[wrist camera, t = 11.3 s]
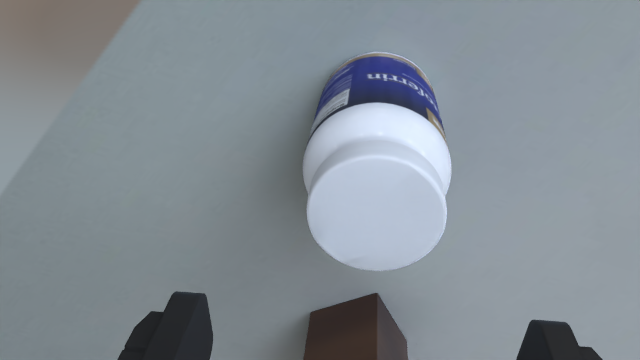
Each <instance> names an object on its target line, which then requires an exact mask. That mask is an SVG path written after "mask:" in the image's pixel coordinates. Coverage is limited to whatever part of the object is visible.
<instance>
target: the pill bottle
mask: <svg viewBox="0 0 640 360" xmlns="http://www.w3.org/2000/svg"><path fill="white" fill-rule="evenodd" d="M303 179H304V183H305V187H306V190H307V192H308V200H307V210H306V212H307V222H308V226H309V229H310V231H311V234H312V236H313V237H314V239H315V241H316V242H317V244H318V245H319V246H320V247H321V248H322V249H323V250H324V251H325V252H326V253H327V254H328V255H330V256H331V257H332V258H334V259H336V260H337V261H339V262H341V263H343V264H345V265H348V266H351V267H354V268H357V269H362V270H369V271H387V270H394V269H399V268H402V267H405V266H408V265H410V264H412V263H415V262H416V261H418V260H420V259H421V258H423V257H424V256H425V255H427V254H428V253H429V252H430V251H431V250H432V249H433V248H434V247H435V245H436V244H437V243H438V241H439V240H440V238H441V236H442V234H443V232H444V229H445V226H446V219H447V207H446V200H445V196H446V193H447V191H448V188H449V184H450V180H451V158H450V153H449V148H448V145H447V141H446V137H445V133H444V129H443V125H442V121H441V117H440V114H439V110H438V106H437V102H436V99H435V95H434V92H433V89H432V87H431V84H430V82H429V80H428V78H427V77H426V75H425V74H424V73H423V71H422V70H421V69H420V68H419V67H418V66H417V65H415V64H414V63H413V62H411V61H410V60H408V59H406V58H404V57H402V56H399V55H396V54H393V53H388V52H369V53H365V54H361V55H358V56H356V57H353V58H351V59H350V60H348V61H346V62H345V63H343V64H342V65H341V66H339V67H338V68H337V69H336V70H335V71H334V72H333V73H332V75H331V76H330V78H329V79H328V81H327V83H326V85H325V87H324V89H323V92H322V95H321V98H320V101H319V104H318V108H317V111H316V115H315V118H314V122H313V125H312V129H311V132H310V136H309V139H308V142H307V146H306V149H305V154H304V159H303Z"/></svg>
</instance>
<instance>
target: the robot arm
mask: <svg viewBox="0 0 640 360" xmlns="http://www.w3.org/2000/svg"><path fill="white" fill-rule="evenodd" d="M212 344H213V331H212V325H211V319H210V314H209V308H208V302H207V297H206V295H205V294H203V293H190V292H174V293H173V294H172V296H171V298H170V300H169V302H168V304H167V306H166V308H165V310H164V312H155V311H151V312H150V313H149V314H148V315H147V316H146V317H145V318H144V319H143V320H142V321H141V322H140V323H138V324H137V325H136V326H135V328H134V329H133V331H132V333H131V335H130V337H129V339H128V341H127V343H126V345H125V349H124V350H122V352H121V354H120V356H119V358H118V360H209V359H210V355H211V351H212ZM516 360H602V359H601V357H600V356H599V355H598V354H597V353H596V352H595V351H594V350H593V349H592V348H591V347H580V346H579V345H578V343H577V341H576V339H575V336H574V334H573V332H572V330H571V328H570V326H569V325H568V324H567V323H566V322H557V321H544V320H532V321H531V322H530V323H529V326H528V328H527V331H526V334H525V337H524V340H523V342H522V345H521V348H520V351H519V353H518V356H517V359H516Z"/></svg>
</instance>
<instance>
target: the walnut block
mask: <svg viewBox="0 0 640 360" xmlns="http://www.w3.org/2000/svg"><path fill="white" fill-rule="evenodd" d="M303 360H408V355H407V341H406V339H405V337H404V336H403V334H402V333H401V331H400V329H399V328H398V326H397V324H396V323H395V321H394V320H393V318H392V316H391V315H390V313H389V311H388V310H387V308H386V306H385V305H384V303H383V302H382V300H381V298H380V297H379V295H378V293H375V294H371V295H368V296H365V297H361V298H358V299H355V300H351V301H348V302H344V303H341V304H338V305H334V306H331V307H327V308H324V309H321V310H317V311H314V312H311V314H310V320H309V327H308V333H307V340H306V346H305V352H304V359H303Z"/></svg>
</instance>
